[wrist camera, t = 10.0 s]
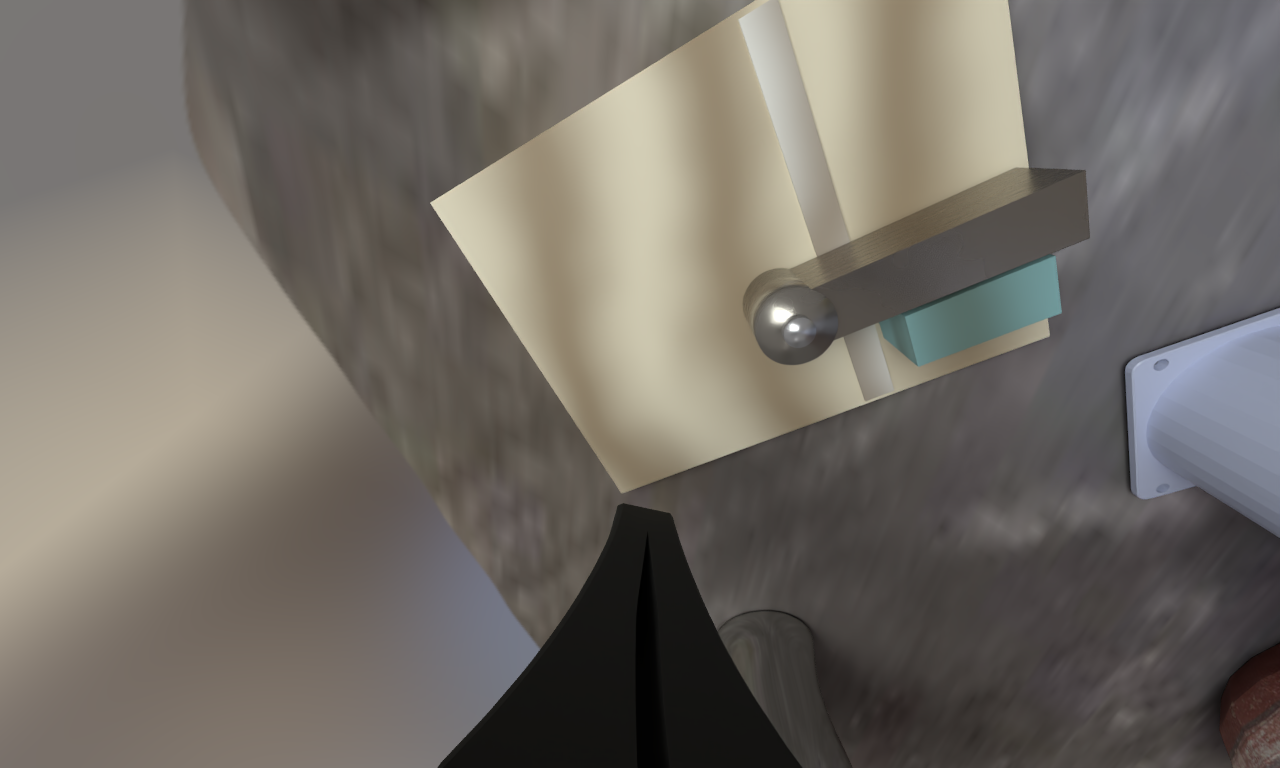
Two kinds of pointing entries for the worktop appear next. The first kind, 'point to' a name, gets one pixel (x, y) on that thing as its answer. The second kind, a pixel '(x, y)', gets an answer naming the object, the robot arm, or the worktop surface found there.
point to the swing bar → (916, 260)
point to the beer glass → (785, 683)
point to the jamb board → (750, 221)
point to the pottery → (1253, 712)
